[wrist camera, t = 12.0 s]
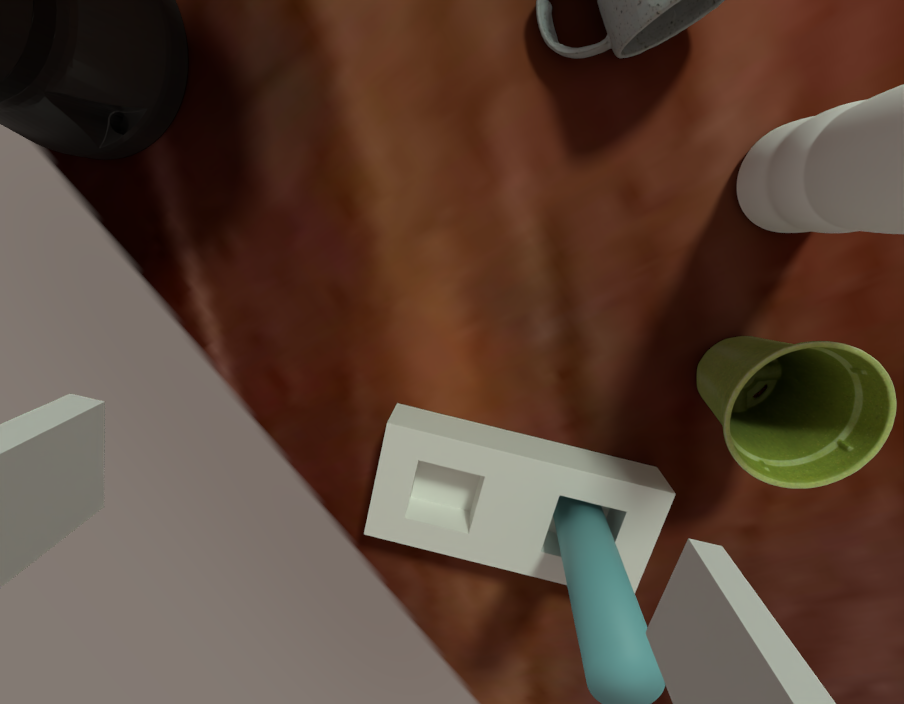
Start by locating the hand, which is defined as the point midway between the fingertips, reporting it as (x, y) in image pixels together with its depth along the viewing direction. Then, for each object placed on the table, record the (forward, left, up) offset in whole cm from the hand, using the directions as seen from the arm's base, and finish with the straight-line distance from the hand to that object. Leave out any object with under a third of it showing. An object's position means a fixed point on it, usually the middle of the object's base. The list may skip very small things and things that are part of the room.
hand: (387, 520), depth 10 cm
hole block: (+14, +8, -27) cm, 31 cm away
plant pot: (0, +22, -27) cm, 35 cm away
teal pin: (+14, +13, -26) cm, 32 cm away
